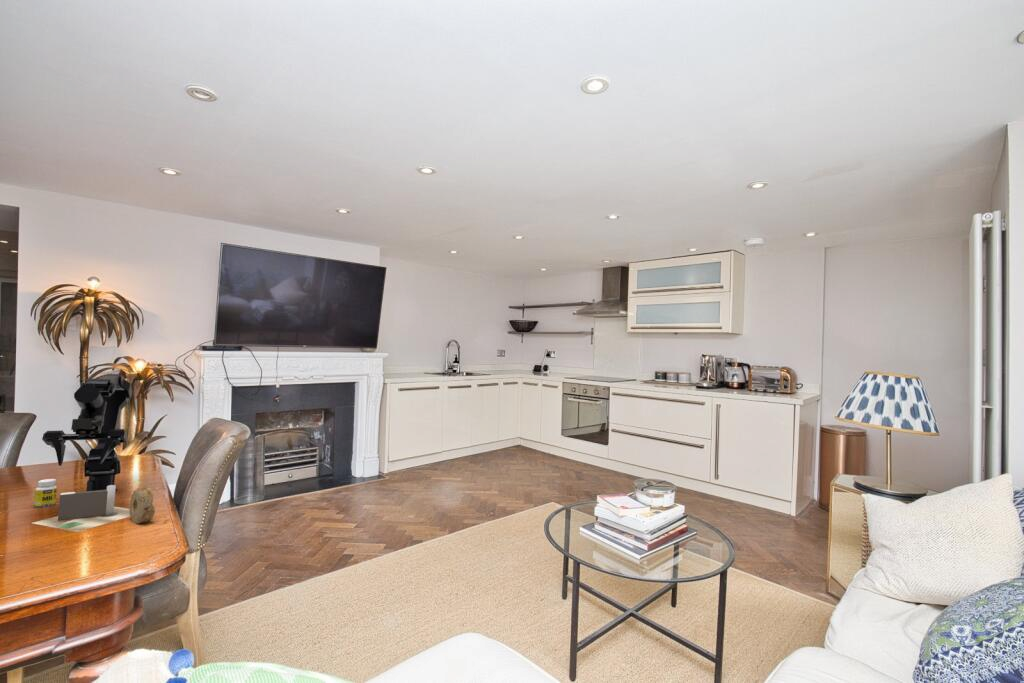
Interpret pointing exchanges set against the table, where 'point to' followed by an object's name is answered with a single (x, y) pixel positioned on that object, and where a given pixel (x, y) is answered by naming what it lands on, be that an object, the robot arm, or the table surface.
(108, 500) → the grey upright slab
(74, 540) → the table surface
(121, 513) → the cream square board
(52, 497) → the supplement bottle
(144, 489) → the stone disc
